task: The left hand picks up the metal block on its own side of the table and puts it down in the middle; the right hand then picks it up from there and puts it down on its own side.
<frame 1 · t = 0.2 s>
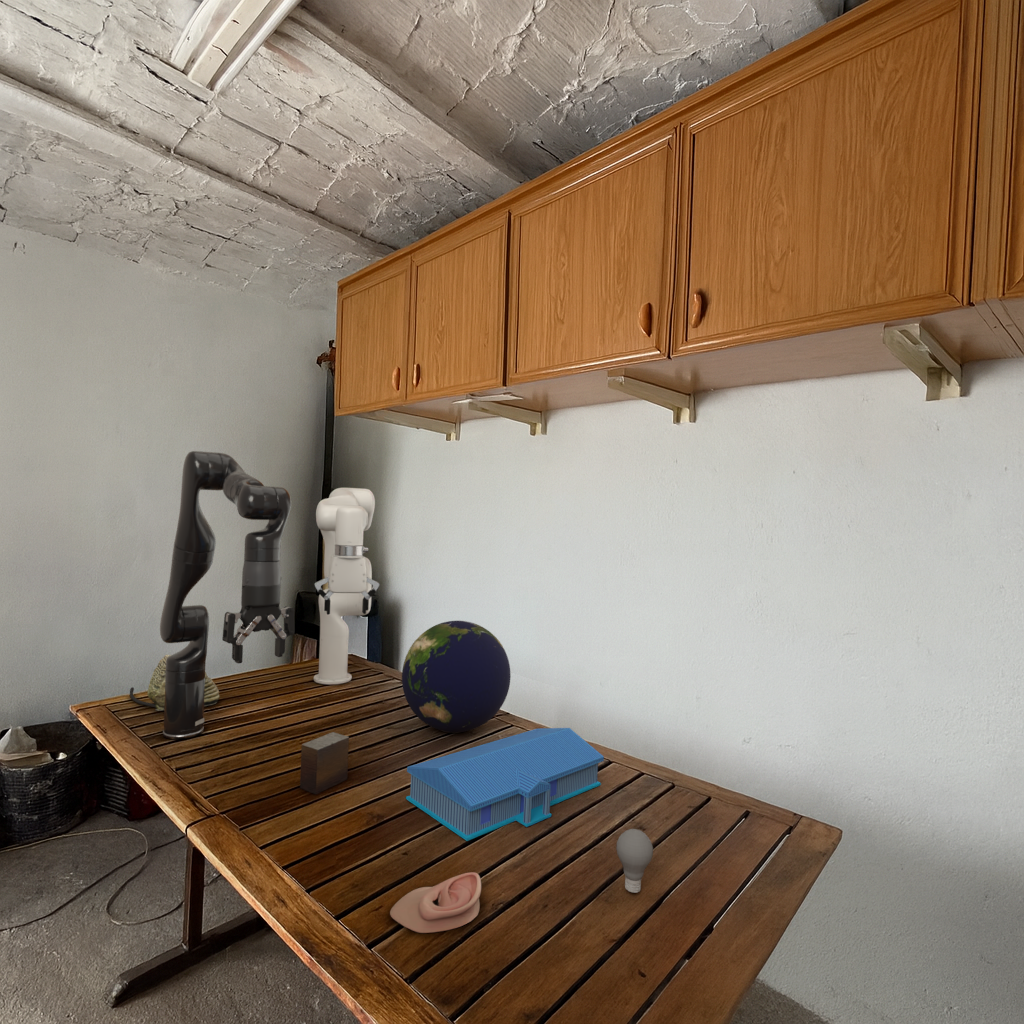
left hand: (258, 659, 132), 29 cm above the table, tool pointing down, fingers open, 8 cm apart
right hand: (346, 613, 175), 31 cm above the table, tool pointing down, fingers open, 9 cm apart
model building: (511, 794, 139), on the table
anatomical model: (436, 911, 99), on the table
globe: (454, 729, 176), on the table
fossil: (183, 706, 185), on the table
light bulb: (632, 891, 106), on the table
block: (324, 783, 140), on the table
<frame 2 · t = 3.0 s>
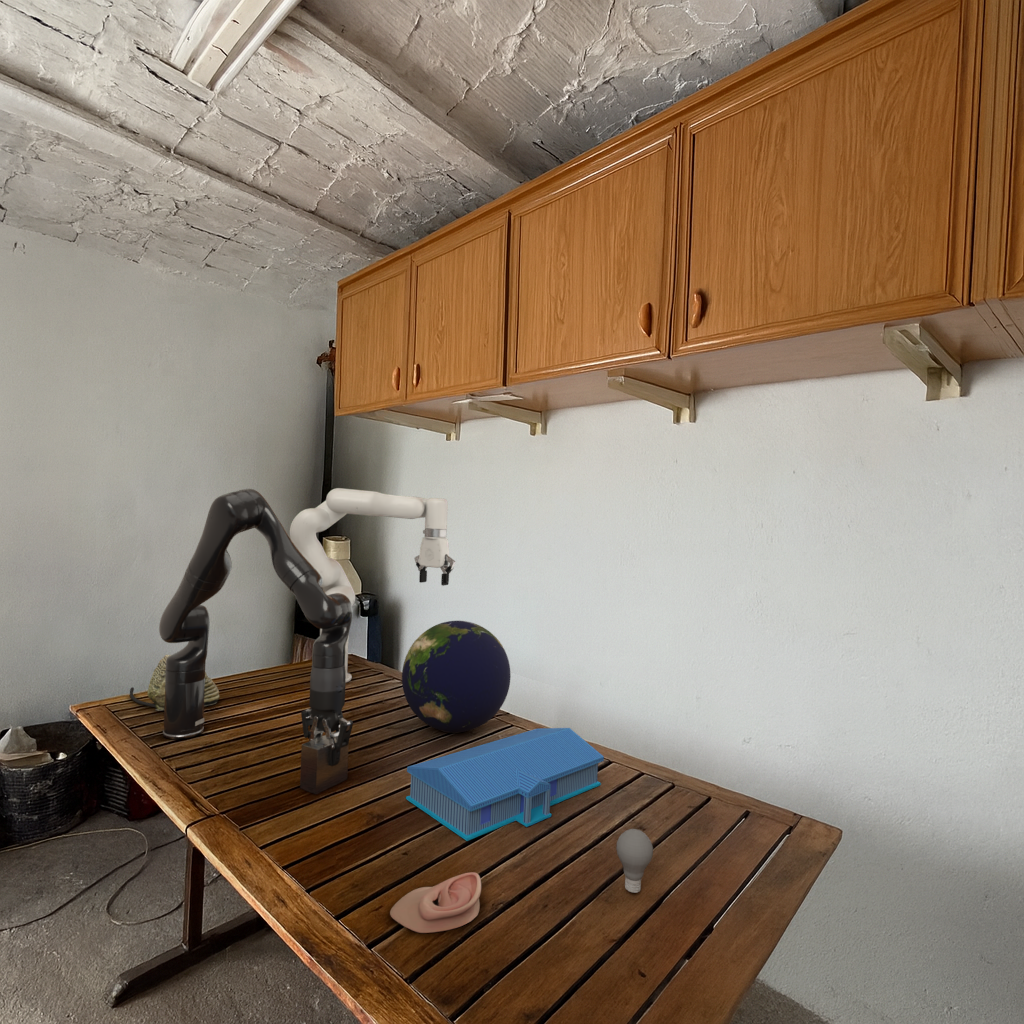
left hand: (325, 761, 140), 5 cm above the table, tool pointing down, fingers closed on block, 5 cm apart
right hand: (433, 583, 218), 35 cm above the table, tool pointing down, fingers open, 9 cm apart
block: (324, 783, 140), on the table, touching left hand
everything else where it was.
when the left hand's fingers open (7 cm above the table, at t = 10.7 s): block drops 2 cm, on the table.
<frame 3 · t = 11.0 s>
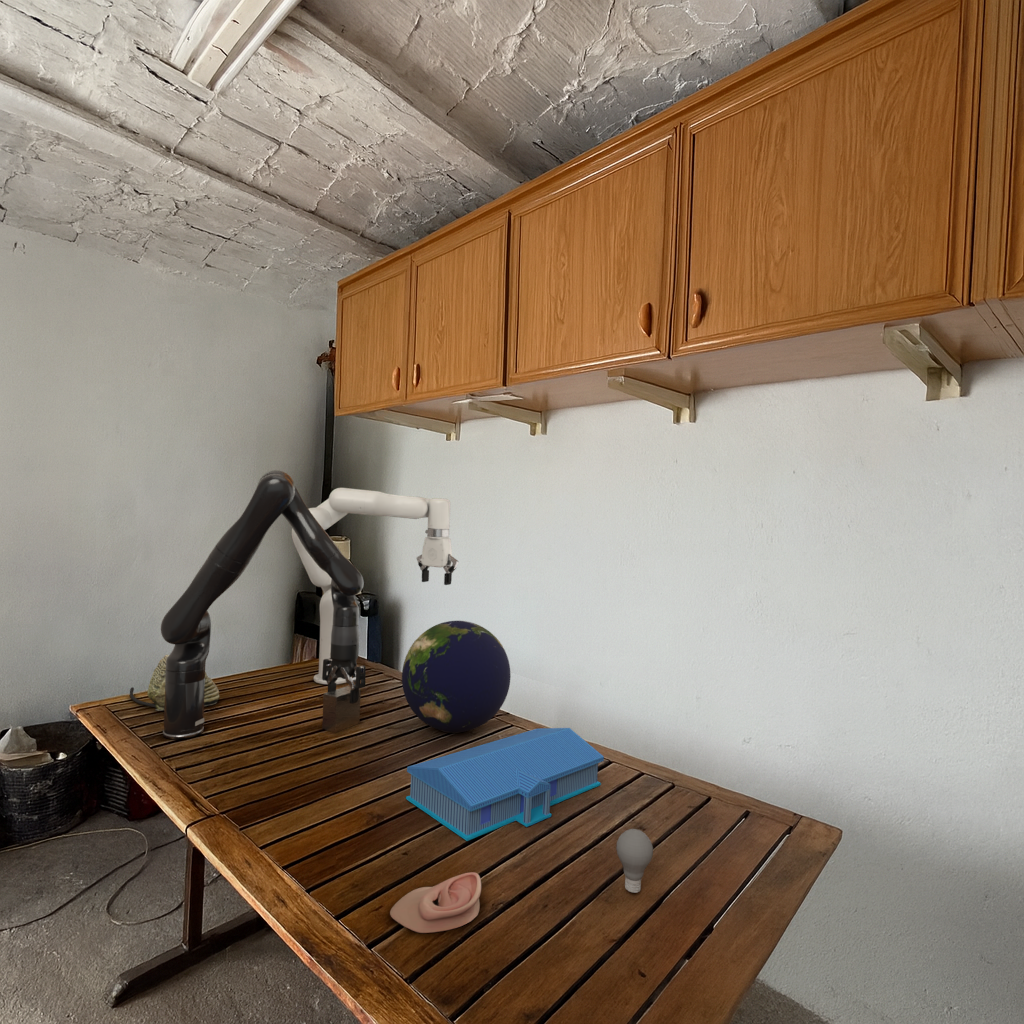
left hand: (342, 699, 175), 7 cm above the table, tool pointing down, fingers open, 8 cm apart
right hand: (436, 583, 220), 34 cm above the table, tool pointing down, fingers open, 9 cm apart
block: (341, 725, 175), on the table
everything else where it was.
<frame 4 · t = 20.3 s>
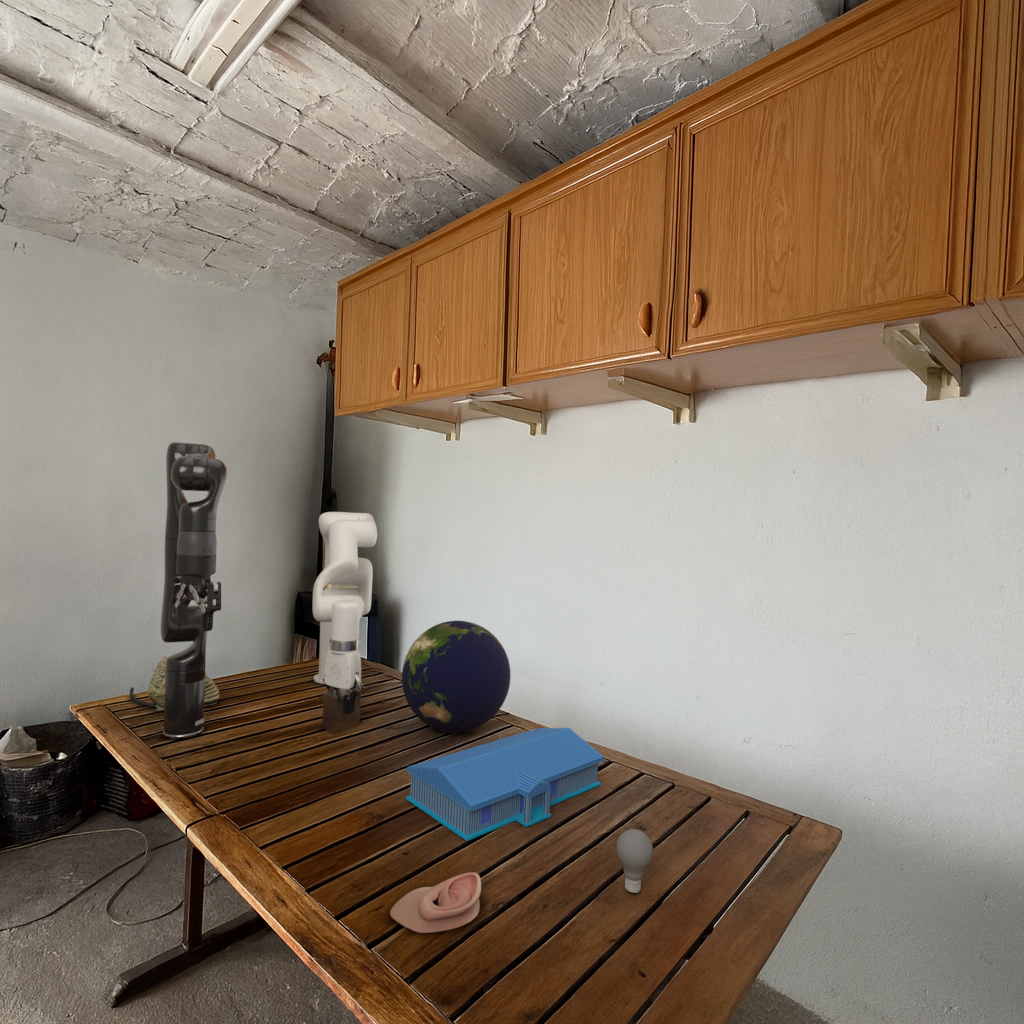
left hand: (194, 628, 135), 34 cm above the table, tool pointing down, fingers open, 8 cm apart
right hand: (342, 710, 175), 4 cm above the table, tool pointing down, fingers closed on block, 5 cm apart
block: (341, 726, 175), on the table, touching right hand
everything else where it was.
when the right hand's fingers open (6 cm above the table, at t = 26.7 s): block drops 2 cm, on the table.
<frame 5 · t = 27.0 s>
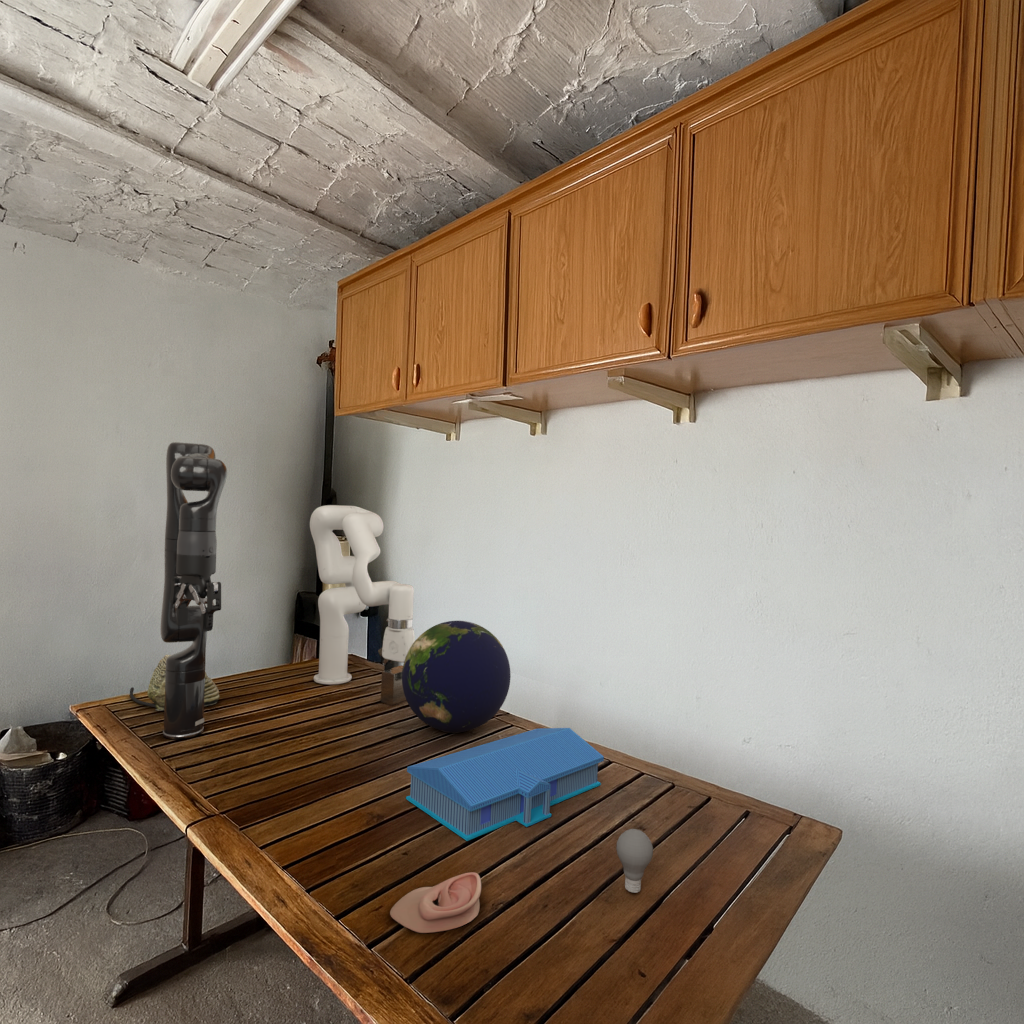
left hand: (194, 628, 135), 34 cm above the table, tool pointing down, fingers open, 8 cm apart
right hand: (398, 679, 199), 7 cm above the table, tool pointing down, fingers open, 7 cm apart
block: (396, 700, 199), on the table
everything else where it was.
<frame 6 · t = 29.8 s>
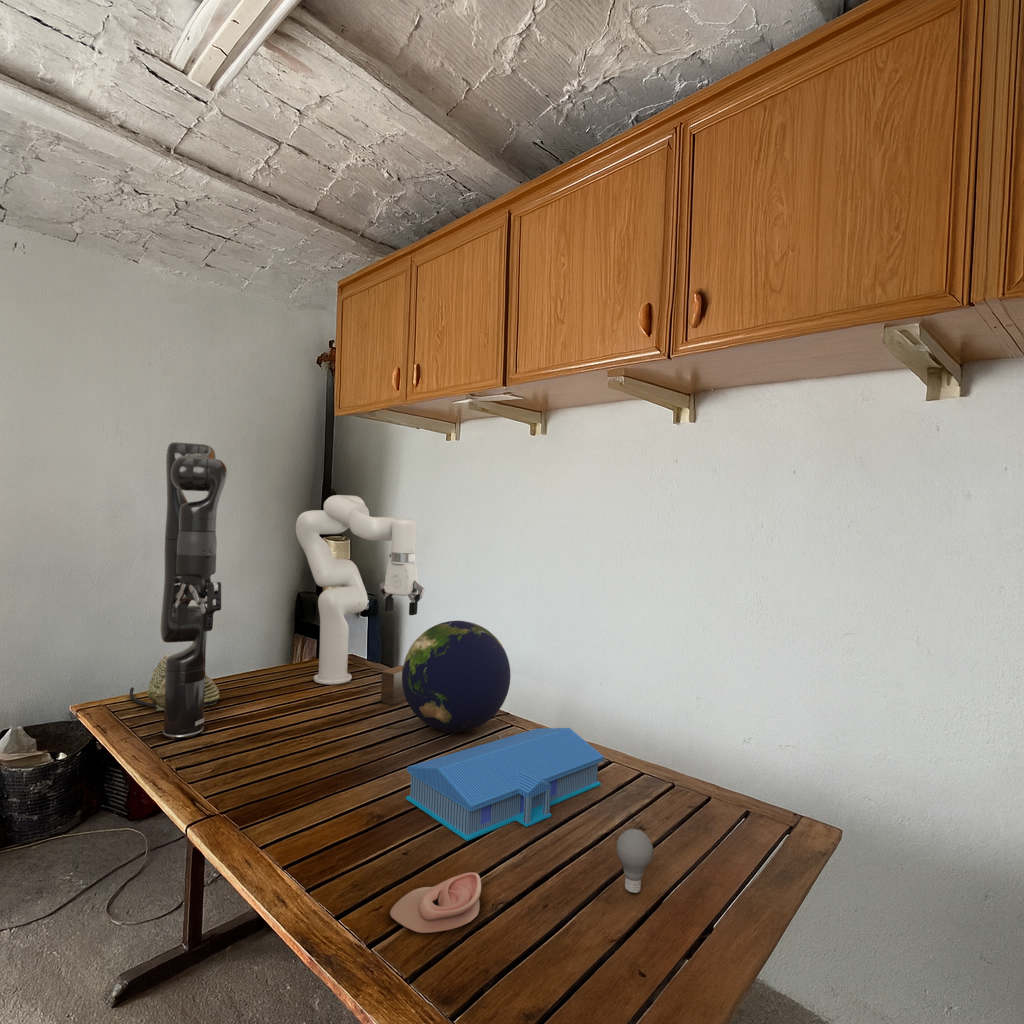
left hand: (194, 628, 135), 34 cm above the table, tool pointing down, fingers open, 8 cm apart
right hand: (400, 612, 199), 28 cm above the table, tool pointing down, fingers open, 9 cm apart
nothing on the table moved.
at the end: block inside the target area (0.2 cm from its centre), on the table; block tilted 0°; the two hands never held the block at the same time; the left hand is holding nothing; the right hand is holding nothing; block at rest at the end (0.0 cm/s) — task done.
